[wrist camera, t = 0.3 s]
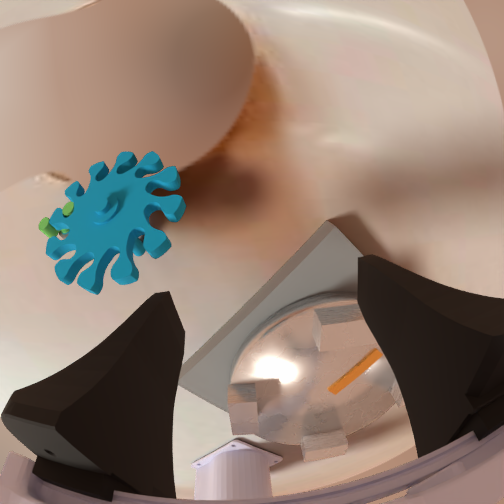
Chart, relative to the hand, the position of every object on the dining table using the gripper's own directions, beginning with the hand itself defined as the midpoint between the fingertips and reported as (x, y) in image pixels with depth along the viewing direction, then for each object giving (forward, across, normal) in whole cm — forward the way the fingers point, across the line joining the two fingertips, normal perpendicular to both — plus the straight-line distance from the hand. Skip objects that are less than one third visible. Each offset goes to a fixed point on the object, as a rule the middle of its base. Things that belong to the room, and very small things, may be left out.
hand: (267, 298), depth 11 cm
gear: (+11, +9, -2) cm, 15 cm away
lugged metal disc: (+7, -4, +14) cm, 16 cm away
